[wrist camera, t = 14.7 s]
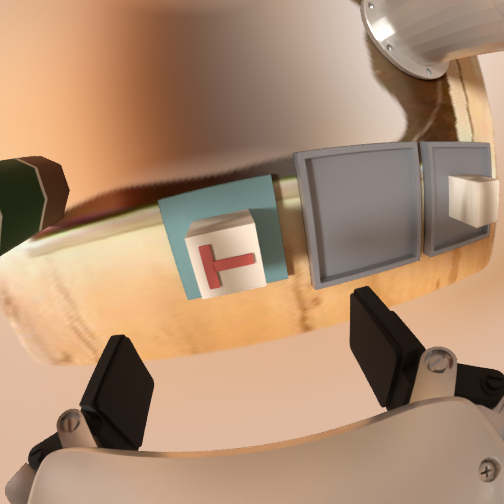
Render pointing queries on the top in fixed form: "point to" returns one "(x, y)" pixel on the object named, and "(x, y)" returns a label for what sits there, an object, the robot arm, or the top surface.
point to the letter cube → (225, 254)
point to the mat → (221, 202)
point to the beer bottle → (29, 198)
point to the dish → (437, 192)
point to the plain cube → (473, 199)
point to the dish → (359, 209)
